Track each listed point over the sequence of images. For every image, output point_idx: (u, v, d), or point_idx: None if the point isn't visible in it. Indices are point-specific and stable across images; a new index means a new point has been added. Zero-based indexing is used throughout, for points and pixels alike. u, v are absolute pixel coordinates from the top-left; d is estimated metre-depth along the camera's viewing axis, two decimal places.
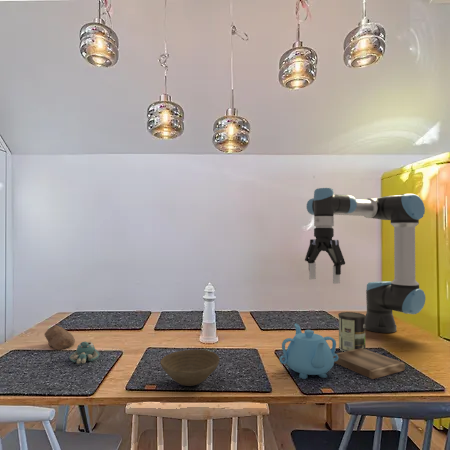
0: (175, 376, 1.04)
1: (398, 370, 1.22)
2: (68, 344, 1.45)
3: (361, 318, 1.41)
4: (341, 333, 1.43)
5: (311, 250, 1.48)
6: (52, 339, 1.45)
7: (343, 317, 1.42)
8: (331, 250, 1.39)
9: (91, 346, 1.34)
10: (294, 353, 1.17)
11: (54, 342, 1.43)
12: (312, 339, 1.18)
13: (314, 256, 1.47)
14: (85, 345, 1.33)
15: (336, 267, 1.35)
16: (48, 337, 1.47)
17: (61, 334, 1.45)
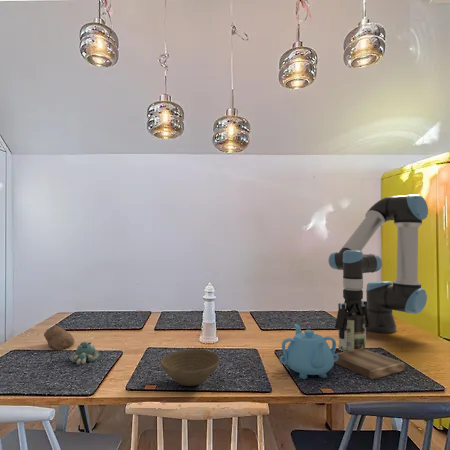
0: (175, 376, 1.04)
1: (398, 370, 1.22)
2: (68, 344, 1.45)
3: (361, 318, 1.41)
4: None
5: (362, 312, 1.48)
6: (52, 339, 1.45)
7: None
8: (346, 313, 1.43)
9: (91, 346, 1.34)
10: (294, 353, 1.17)
11: (54, 342, 1.43)
12: (312, 339, 1.18)
13: None
14: (85, 345, 1.33)
15: None
16: (48, 337, 1.47)
17: (61, 334, 1.45)
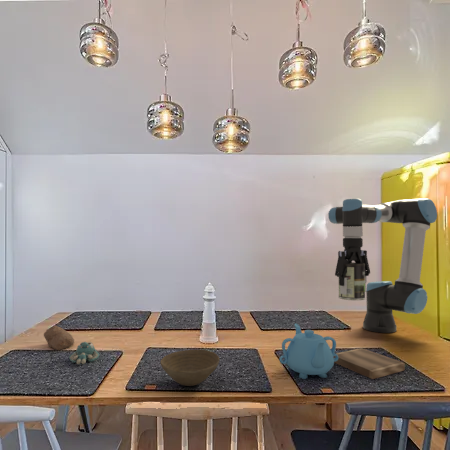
0: (175, 376, 1.04)
1: (398, 370, 1.22)
2: (68, 344, 1.45)
3: (361, 265, 1.41)
4: None
5: (362, 261, 1.48)
6: (52, 339, 1.45)
7: None
8: (346, 261, 1.43)
9: (91, 346, 1.34)
10: (294, 353, 1.17)
11: (54, 342, 1.43)
12: (312, 339, 1.18)
13: None
14: (85, 345, 1.33)
15: None
16: (47, 337, 1.47)
17: (61, 334, 1.45)
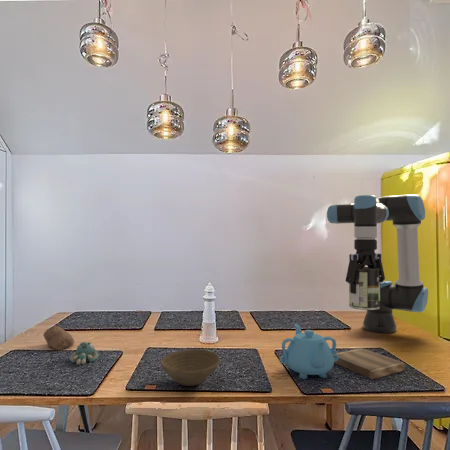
0: (175, 376, 1.04)
1: (398, 370, 1.22)
2: (68, 344, 1.45)
3: (375, 270, 1.24)
4: None
5: (376, 266, 1.32)
6: (52, 339, 1.45)
7: None
8: (358, 265, 1.26)
9: (91, 346, 1.34)
10: (294, 353, 1.17)
11: (54, 342, 1.43)
12: (312, 339, 1.18)
13: None
14: (85, 345, 1.33)
15: None
16: (47, 337, 1.46)
17: (61, 334, 1.44)
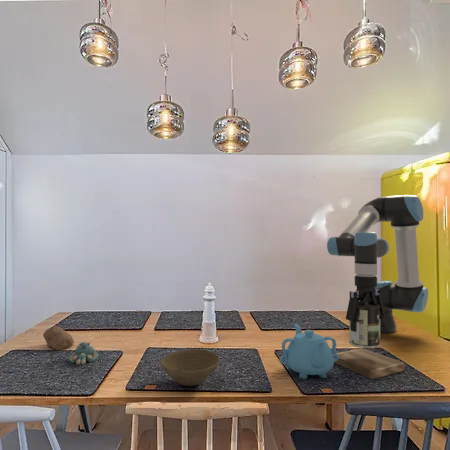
0: (175, 376, 1.04)
1: (398, 370, 1.22)
2: (68, 344, 1.45)
3: (375, 308, 1.24)
4: None
5: (376, 302, 1.31)
6: (51, 339, 1.45)
7: None
8: (358, 302, 1.26)
9: (90, 347, 1.33)
10: (294, 353, 1.17)
11: (54, 342, 1.43)
12: (312, 339, 1.18)
13: None
14: (84, 346, 1.32)
15: None
16: (47, 338, 1.46)
17: (61, 334, 1.44)
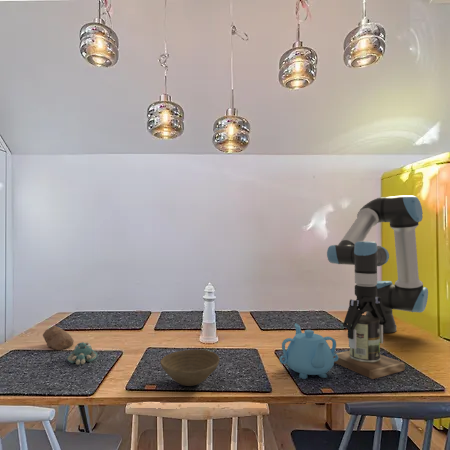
0: (175, 376, 1.04)
1: (398, 370, 1.22)
2: (68, 344, 1.45)
3: (375, 322, 1.24)
4: None
5: (378, 309, 1.32)
6: (51, 340, 1.45)
7: None
8: (357, 311, 1.26)
9: (89, 347, 1.33)
10: (294, 353, 1.17)
11: (54, 342, 1.43)
12: (312, 339, 1.18)
13: (374, 316, 1.31)
14: (83, 346, 1.32)
15: None
16: (47, 338, 1.46)
17: (61, 334, 1.44)
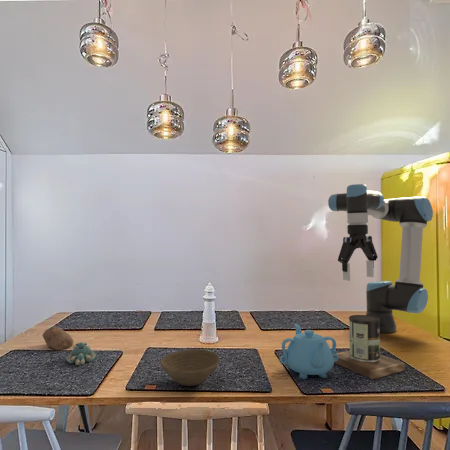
0: (175, 376, 1.04)
1: (398, 370, 1.22)
2: (68, 344, 1.45)
3: (375, 322, 1.24)
4: (352, 339, 1.27)
5: (368, 247, 1.45)
6: (51, 340, 1.44)
7: (355, 321, 1.26)
8: (350, 247, 1.39)
9: (87, 347, 1.33)
10: (294, 353, 1.17)
11: (54, 343, 1.42)
12: (312, 339, 1.18)
13: (365, 253, 1.44)
14: (82, 346, 1.32)
15: None
16: (46, 338, 1.46)
17: (61, 334, 1.44)
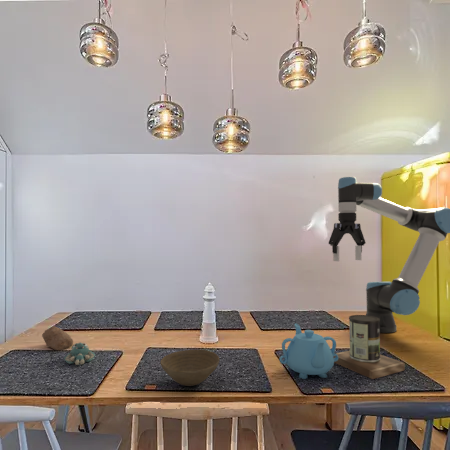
0: (175, 376, 1.04)
1: (398, 370, 1.22)
2: (68, 344, 1.45)
3: (375, 322, 1.24)
4: (352, 339, 1.27)
5: (357, 233, 1.63)
6: (51, 340, 1.44)
7: (355, 321, 1.26)
8: (340, 232, 1.57)
9: (86, 347, 1.33)
10: (294, 353, 1.17)
11: (54, 343, 1.42)
12: (312, 339, 1.18)
13: (354, 239, 1.62)
14: (80, 346, 1.32)
15: None
16: (46, 338, 1.46)
17: (61, 334, 1.44)
